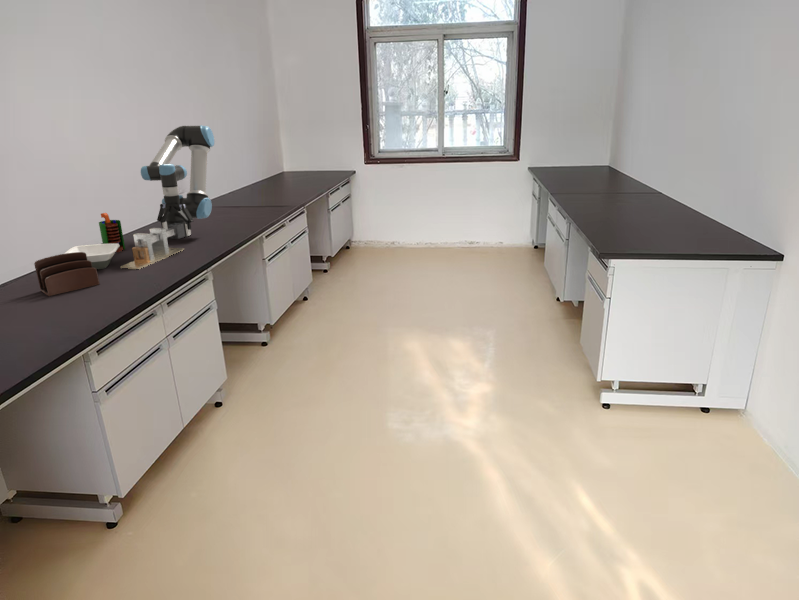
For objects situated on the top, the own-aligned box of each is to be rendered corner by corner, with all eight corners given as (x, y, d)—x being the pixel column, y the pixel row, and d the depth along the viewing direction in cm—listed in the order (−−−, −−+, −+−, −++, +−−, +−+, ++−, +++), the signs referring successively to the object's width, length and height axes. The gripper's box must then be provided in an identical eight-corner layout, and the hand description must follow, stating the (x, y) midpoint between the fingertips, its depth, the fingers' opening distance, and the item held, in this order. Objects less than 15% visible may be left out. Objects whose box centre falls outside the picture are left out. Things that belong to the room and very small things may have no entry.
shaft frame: (120, 268, 254) (115, 239, 249) (167, 249, 287) (163, 223, 282) (139, 269, 252) (133, 240, 247) (184, 250, 285) (180, 224, 280)
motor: (114, 253, 279) (107, 215, 272) (99, 253, 281) (92, 215, 274) (127, 248, 288) (120, 211, 281) (113, 248, 290) (106, 211, 283)
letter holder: (40, 291, 224) (32, 259, 219) (91, 280, 238) (84, 249, 233) (48, 296, 218) (40, 263, 213) (100, 285, 232) (93, 253, 227)
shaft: (140, 249, 263) (138, 235, 260) (177, 235, 290) (175, 223, 287) (149, 250, 262) (147, 236, 259) (185, 236, 289) (183, 223, 286)
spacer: (134, 262, 261) (131, 248, 258) (137, 260, 262) (134, 247, 260) (147, 262, 259) (145, 248, 257) (150, 261, 261) (147, 247, 259)
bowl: (62, 275, 244) (58, 257, 241) (76, 262, 265) (72, 245, 262) (115, 271, 250) (112, 254, 247) (125, 258, 270) (122, 242, 267)
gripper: (145, 195, 278) (152, 235, 286) (188, 196, 273) (194, 237, 280) (154, 192, 285) (161, 232, 292) (196, 194, 280) (202, 234, 287)
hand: (177, 234), depth 286 cm, fingers open, 13 cm apart
